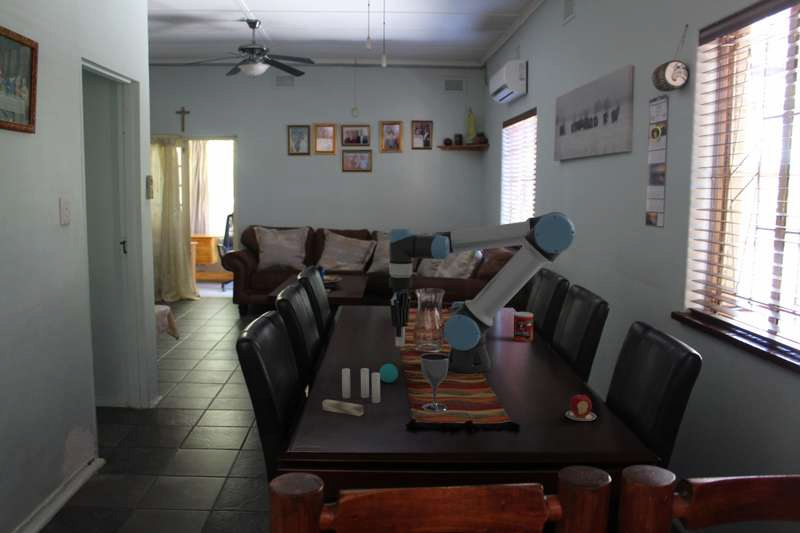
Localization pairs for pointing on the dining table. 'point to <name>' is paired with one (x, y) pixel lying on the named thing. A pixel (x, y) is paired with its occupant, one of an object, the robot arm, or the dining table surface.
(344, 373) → the far back pin
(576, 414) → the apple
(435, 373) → the wine glass
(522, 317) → the canned food
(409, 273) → the robot arm
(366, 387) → the front pin
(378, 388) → the near back pin
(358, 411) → the backstop
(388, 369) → the ball
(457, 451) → the dining table surface
